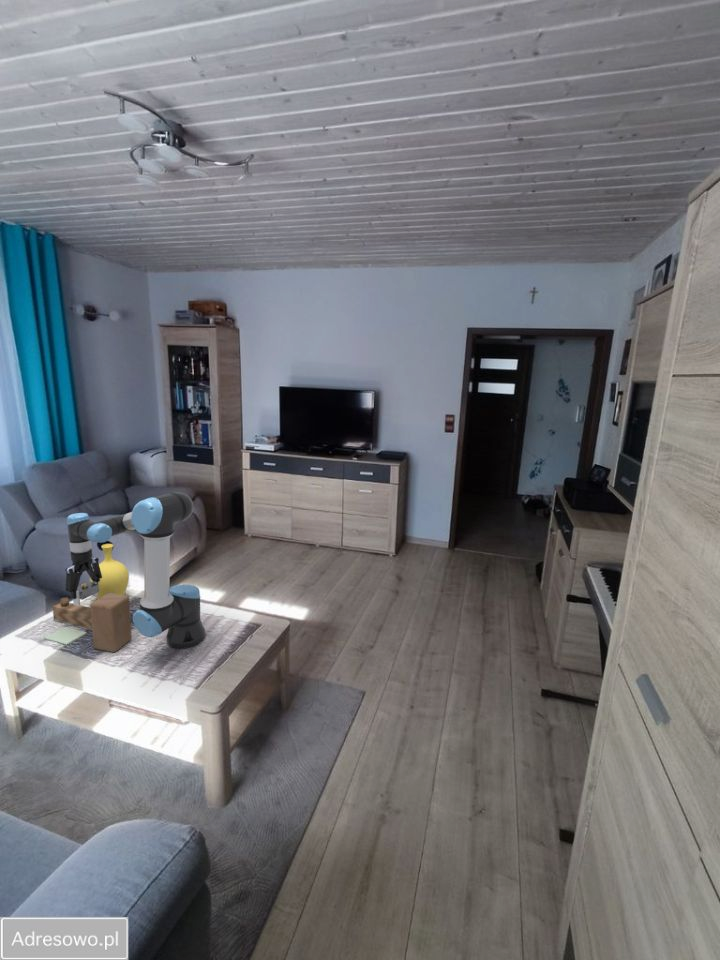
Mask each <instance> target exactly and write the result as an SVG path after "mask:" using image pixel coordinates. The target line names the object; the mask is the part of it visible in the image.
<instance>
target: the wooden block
mask: <svg viewBox="0 0 720 960" xmlns="http://www.w3.org/2000/svg"><path fill="white" fill-rule="evenodd" d="M95 600H96V601H95ZM95 600H93V601H94V602H93V601H92V602H91V603H90V605H89V606H90V608H91V620H92V631H91V633H92V642H93V644H92V645H93V649H96V650H100V651H105V652H111V653H115V652H118V651H119V650H120V649H121V648H123V646H125V645H126V644H127V643H129V642H130V641H131V640H132V625H131V624H132V623H131V610H130V597H129V596H128V595H126V594H125V595H119V594H113V593H108V594H106V595H104V596H102V597H101V598H99V599H97V598H96V599H95Z"/></svg>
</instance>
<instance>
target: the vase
mask: <svg viewBox="0 0 720 960" xmlns="http://www.w3.org/2000/svg"><path fill="white" fill-rule="evenodd" d="M113 547H114V544H112V543H105V544H102V545H101V549H102V551H103V553H104V556H103V557H104V558H103V560H102V562H100V563H99V567H100V571H101V574H102V578H101V579H100V581H99V582H98V584H99V592H98V596H97V597H95V598H96V600H97V599H99V598H101V597H102V596H104V595H106V594H108V593H113V594H119V595H125V596H126V591H127V588H128V584H129V581H130V580H129V579H130V578H129V571H128V568H127V566H126V565H125V564H123V563H122V562H120V561H117V560H115V559H114V558H113V556H112V554H113V553H112V550H113ZM93 571H94V570H93ZM89 582H90V583H91V582H92V579H91V578H90V577H89Z"/></svg>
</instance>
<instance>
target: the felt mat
mask: <svg viewBox="0 0 720 960" xmlns="http://www.w3.org/2000/svg"><path fill="white" fill-rule="evenodd" d="M86 634H88V633H87V631H82V630H78V629H75V628H71V627H67V626H63V627H61V628H59V629H57V630H55V631H54V632H52V633H50V634H49V635H46V636H45V637H43V640H46V641H50V642H52V641H53V642H54V643H56V642H57V643H56V644H60V643H62V644H61V645H63V644H66V645H65V646H68V645H69V643H70V644H71V642H72V641H73V642H75V641H77V640H78V639H81V638H82V637H83V636H85V635H86ZM76 639H77V640H76ZM74 640H75V641H74ZM73 642H72V643H73ZM67 644H68V645H67Z"/></svg>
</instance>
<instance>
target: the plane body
mask: <svg viewBox="0 0 720 960" xmlns="http://www.w3.org/2000/svg"><path fill="white" fill-rule="evenodd" d="M96 600H97V599H95V600H93V601H92V602H94V601H96ZM59 601H60V602H58V603H57V604H55V605H52V614H53V622H55V623H60V624H63V623H64V625H67V624H68V626H71V625H72V626H73V627H75V626H76V628H80V629H83V630H88V631H91V632H92V620H91V608H90V607H89V606H84V605H81V604H80V606H77V605H74V604H73V602H70V601H69V597H62V598H60V600H59Z"/></svg>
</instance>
